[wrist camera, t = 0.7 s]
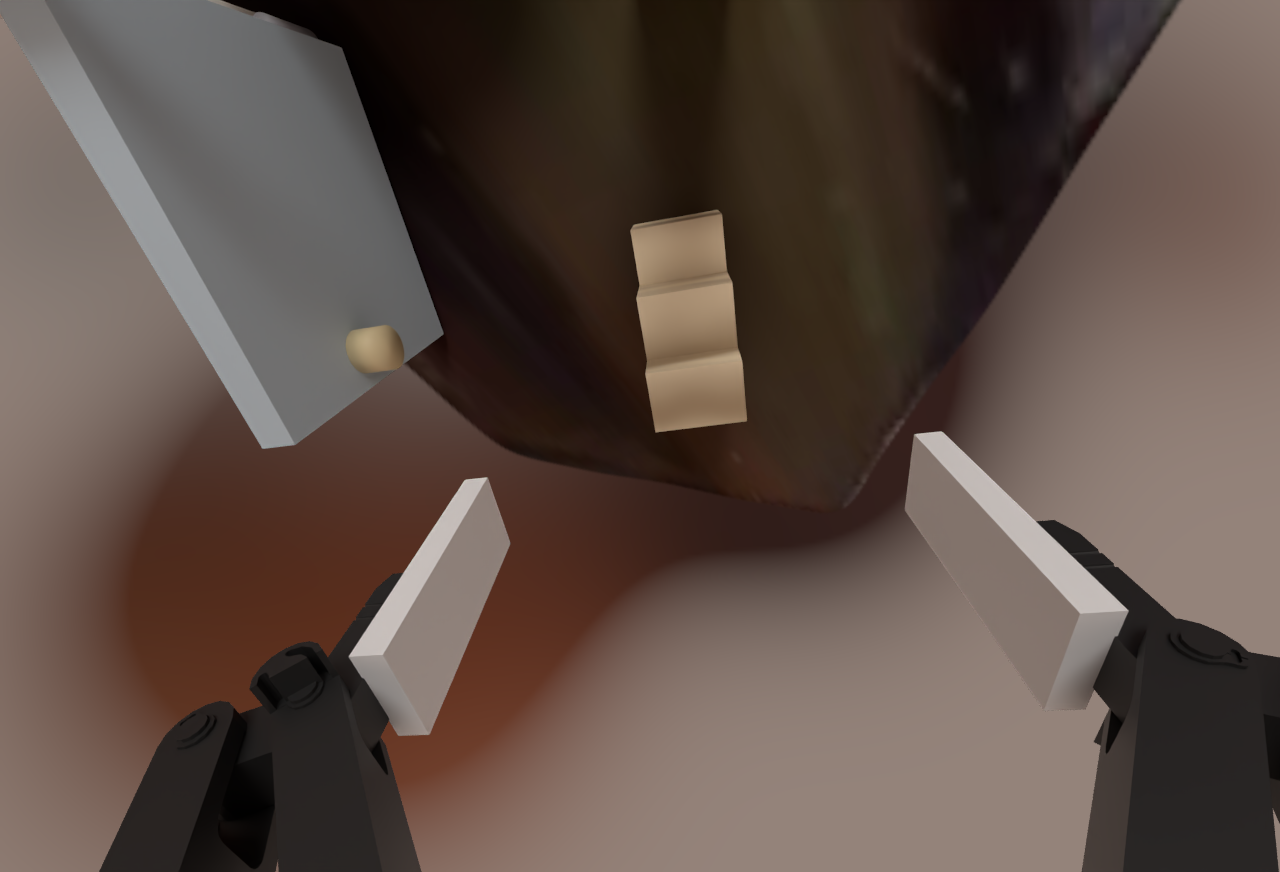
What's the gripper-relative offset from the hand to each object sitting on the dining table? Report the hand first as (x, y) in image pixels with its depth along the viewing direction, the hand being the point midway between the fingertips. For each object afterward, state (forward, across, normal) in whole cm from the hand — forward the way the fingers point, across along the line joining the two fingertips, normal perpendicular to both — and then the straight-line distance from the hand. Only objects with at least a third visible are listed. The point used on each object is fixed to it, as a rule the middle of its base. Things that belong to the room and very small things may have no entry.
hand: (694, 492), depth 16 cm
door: (+19, -16, +10) cm, 27 cm away
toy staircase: (+19, 0, +2) cm, 19 cm away
